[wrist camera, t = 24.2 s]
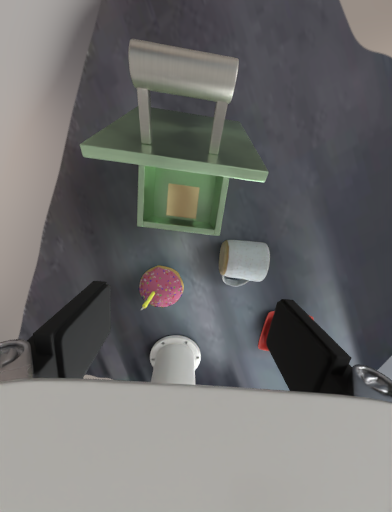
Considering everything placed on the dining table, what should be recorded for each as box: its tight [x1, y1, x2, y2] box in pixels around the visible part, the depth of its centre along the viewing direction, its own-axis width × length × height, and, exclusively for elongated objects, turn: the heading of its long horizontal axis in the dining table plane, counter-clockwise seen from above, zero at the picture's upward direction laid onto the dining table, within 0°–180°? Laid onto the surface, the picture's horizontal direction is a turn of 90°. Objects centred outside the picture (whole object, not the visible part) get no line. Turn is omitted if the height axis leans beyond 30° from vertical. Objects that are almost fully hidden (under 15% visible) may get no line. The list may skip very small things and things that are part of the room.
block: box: [166, 183, 200, 219], centre depth 32 cm, size 5×5×5 cm
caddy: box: [137, 165, 229, 236], centre depth 30 cm, size 15×13×9 cm
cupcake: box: [139, 265, 184, 310], centre depth 34 cm, size 9×8×12 cm
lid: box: [80, 39, 269, 182], centre depth 16 cm, size 16×13×6 cm
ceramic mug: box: [219, 240, 270, 286], centre depth 36 cm, size 11×8×8 cm
